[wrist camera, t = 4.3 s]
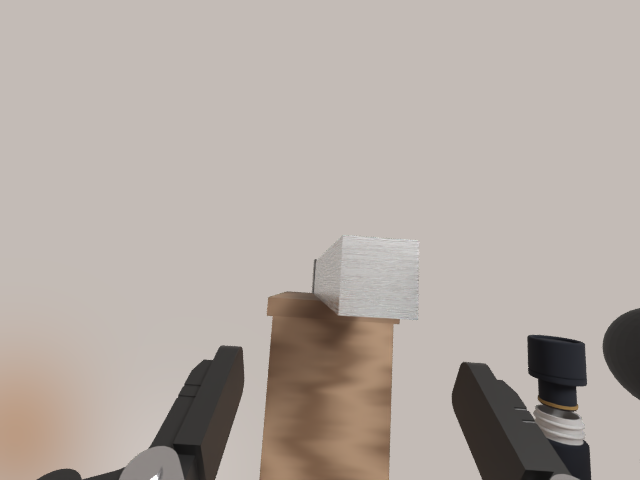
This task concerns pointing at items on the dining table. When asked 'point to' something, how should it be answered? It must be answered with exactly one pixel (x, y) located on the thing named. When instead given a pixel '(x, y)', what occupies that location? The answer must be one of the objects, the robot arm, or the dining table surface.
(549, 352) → the wine bottle
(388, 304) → the aluminium bar
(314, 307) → the walnut stand
